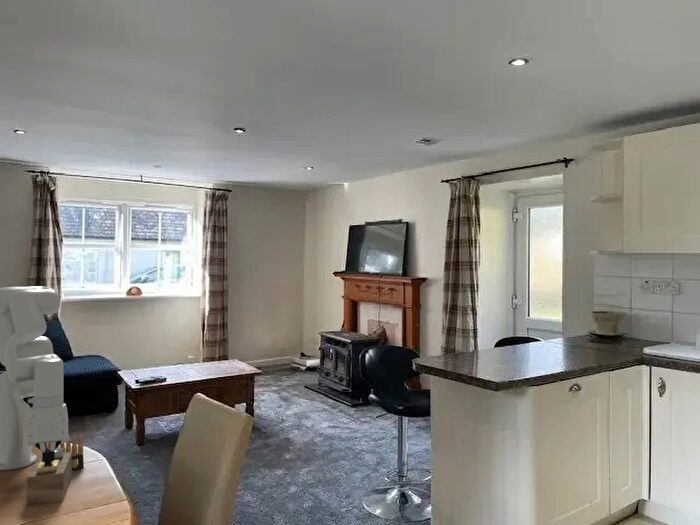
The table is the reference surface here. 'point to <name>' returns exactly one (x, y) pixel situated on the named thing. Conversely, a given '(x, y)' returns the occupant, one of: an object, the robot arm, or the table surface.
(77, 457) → the ammunition clip
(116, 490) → the table surface
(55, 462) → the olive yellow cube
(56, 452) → the pin
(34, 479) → the block
